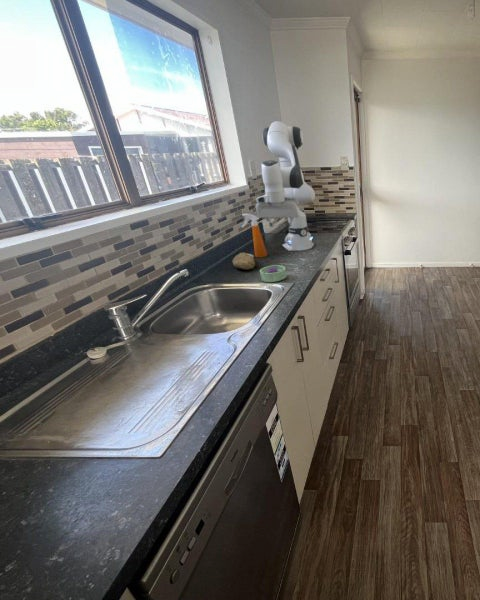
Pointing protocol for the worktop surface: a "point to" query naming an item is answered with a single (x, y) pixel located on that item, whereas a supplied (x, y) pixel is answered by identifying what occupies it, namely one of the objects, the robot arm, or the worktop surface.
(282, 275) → the bowl
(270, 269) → the ball
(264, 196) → the robot arm
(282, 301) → the worktop surface
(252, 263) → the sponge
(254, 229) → the spray bottle
